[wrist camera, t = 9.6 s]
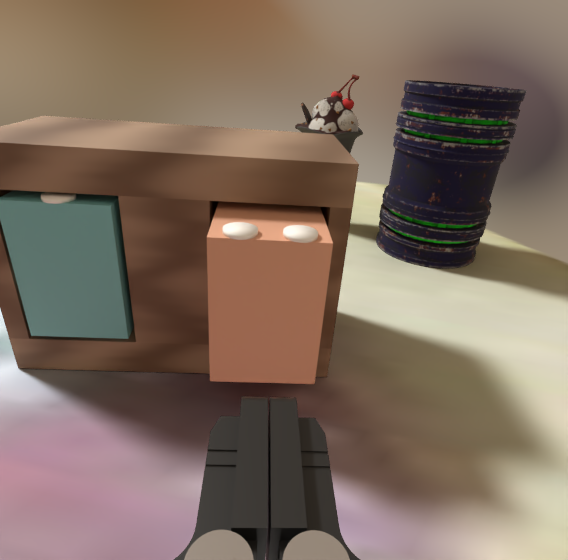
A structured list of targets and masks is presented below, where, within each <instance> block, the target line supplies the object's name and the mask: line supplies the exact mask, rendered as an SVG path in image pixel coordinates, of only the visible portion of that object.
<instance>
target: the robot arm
mask: <svg viewBox="0 0 568 560" xmlns="http://www.w3.org/2000/svg"><path fill="white" fill-rule="evenodd" d="M265 555H266V560H360V559H359V558H357V557H356V556H355V555H354V554H353V553H352V552H351V551H350V549H349V548H348V547H347V545H346V544H345V542H344V540H343V538H342V535H341V533H340V529H339V523H338V516H337V510H336V503H335V497H334V490H333V483H332V477H331V470H330V463H329V457H328V450H327V444H326V437H325V433H324V431H323V430H322V428H321V427H320V425H319V423H318V422H317V420H316V419H315V418H298V411H297V400H296V398H290V397H270V400H269V414H268V397H248V396H242V398H241V409H240V416H221V417H220V418H219V420H218V421H217V423H216V424H215V426H214V427H213V429H212V430H211V432H210V439H209V445H208V453H207V458H206V466H205V471H204V478H203V484H202V491H201V497H200V504H199V510H198V516H197V523H196V528H195V532H194V535H193V537H192V539H191V541H190V543H189V545H188V546H187V547H186V549H185V550H184V551H183V552H182V553H181V554H180V555H179V556H178V557H177V558H175V559H174V560H265Z"/></svg>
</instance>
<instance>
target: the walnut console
mask: <svg viewBox="0 0 568 560" xmlns="http://www.w3.org/2000/svg"><path fill="white" fill-rule="evenodd" d="M358 166H359V164H358V163H357V162H356V160H355V159H354V158H353V157H352V156H351V155H350V153H349V152H348V151H347V150H346V149H345V148H344V147H343V145H342V144H341V143H340V142H339V141H338V140H337V138H336V137H335V136H334V135H332V134H317V133H300V132H286V131H271V130H270V131H269V130H255V129H254V130H253V129H240V128H224V127H208V126H193V125H178V124H177V125H176V124H163V123H146V122H132V121H131V122H130V121H115V120H101V119H84V118H70V117H54V116H41V117H37V118H32V119H29V120H25V121H21V122H17V123H13V124H9V125H5V126H1V127H0V197H1V196H3V195H5V194H7V193H9V192H11V191H13V190H20V191H38V192H57V193H76V194H94V195H113V196H118V199H119V207H120V215H121V224H122V232H123V240H124V248H125V256H126V264H127V272H128V280H129V288H130V296H131V305H132V313H133V321H134V328H133V330H132V332H131V334H130V336H129V338H128V339H117V338H87V337H56V336H31V333H30V330H29V326H28V322H27V318H26V315H25V311H24V307H23V303H22V300H21V296H20V292H19V288H18V285H17V281H16V277H15V273H14V270H13V266H12V262H11V258H10V255H9V251H8V247H7V243H6V240H5V236H4V232H3V228H2V225H1V221H0V308H1V312H2V315H3V318H4V322H5V325H6V328H7V332H8V335H9V339H10V342H11V345H12V349H13V352H14V355H15V359H16V362H17V365H18V368H28V369H64V370H100V371H136V372H172V373H209V374H210V364H209V319H208V274H207V235H208V232H209V229H210V226H211V223H212V220H213V217H214V214H215V211H216V208H217V205H218V202H219V201H225V202H243V203H262V204H281V205H299V206H318V207H320V208H321V211H322V213H323V216H324V219H325V222H326V225H327V227H328V230H329V233H330V236H331V239H332V241H333V248H332V256H331V264H330V271H329V279H328V286H327V294H326V301H325V309H324V316H323V324H322V332H321V339H320V347H319V354H318V362H317V369H316V376H317V377H327V374H328V367H329V361H330V354H331V347H332V340H333V334H334V327H335V320H336V314H337V307H338V300H339V294H340V287H341V280H342V273H343V267H344V260H345V253H346V247H347V240H348V233H349V227H350V220H351V213H352V207H353V200H354V193H355V186H356V179H357V173H358Z"/></svg>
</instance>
